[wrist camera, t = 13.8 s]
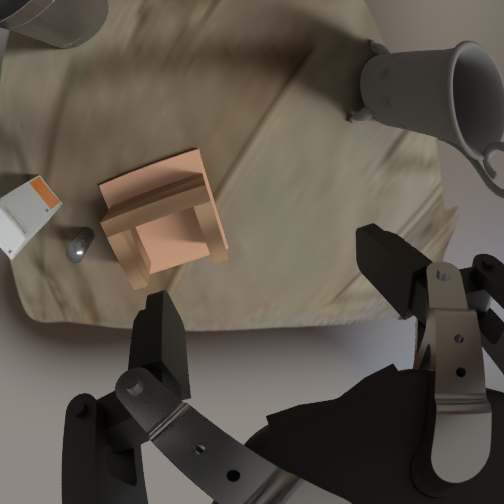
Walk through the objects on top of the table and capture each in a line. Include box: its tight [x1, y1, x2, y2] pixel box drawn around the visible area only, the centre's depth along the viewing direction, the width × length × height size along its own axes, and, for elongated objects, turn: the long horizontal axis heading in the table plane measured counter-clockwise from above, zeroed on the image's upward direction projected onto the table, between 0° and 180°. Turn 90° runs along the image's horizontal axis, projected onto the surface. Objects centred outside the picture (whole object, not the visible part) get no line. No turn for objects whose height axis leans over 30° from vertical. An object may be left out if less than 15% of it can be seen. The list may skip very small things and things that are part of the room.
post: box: [66, 227, 94, 263], centre depth 33 cm, size 2×2×6 cm
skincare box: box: [0, 175, 63, 260], centre depth 26 cm, size 6×4×12 cm
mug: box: [349, 40, 504, 198], centre depth 25 cm, size 19×15×25 cm
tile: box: [99, 148, 229, 274], centre depth 37 cm, size 15×14×1 cm
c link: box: [100, 173, 229, 290], centre depth 35 cm, size 10×13×6 cm
